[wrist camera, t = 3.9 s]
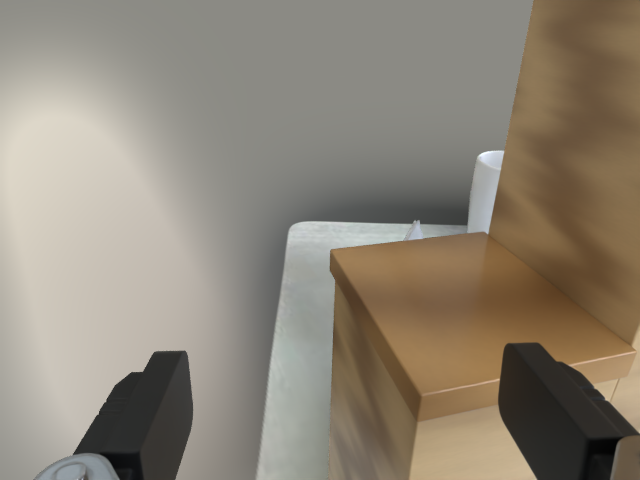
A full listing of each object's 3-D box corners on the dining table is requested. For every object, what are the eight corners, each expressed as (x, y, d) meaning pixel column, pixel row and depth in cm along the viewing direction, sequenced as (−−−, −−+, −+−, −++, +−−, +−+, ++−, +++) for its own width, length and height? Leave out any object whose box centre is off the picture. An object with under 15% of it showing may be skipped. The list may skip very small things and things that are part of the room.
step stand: (322, 508, 32) (340, -81, 17) (539, 454, 36) (704, -61, 21) (376, 691, 24) (500, -139, 9) (650, 594, 28) (1044, -89, 13)
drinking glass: (443, 277, 57) (463, 152, 50) (494, 270, 59) (519, 148, 52) (476, 311, 52) (503, 174, 45) (530, 301, 53) (565, 168, 46)
